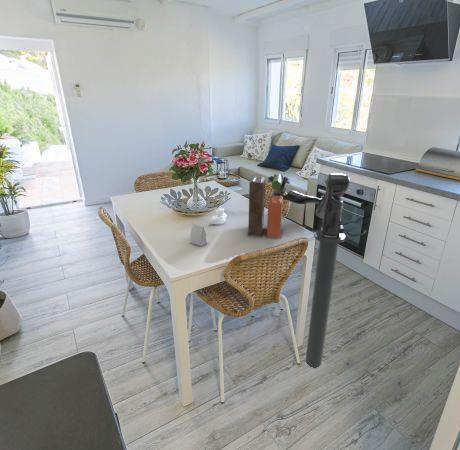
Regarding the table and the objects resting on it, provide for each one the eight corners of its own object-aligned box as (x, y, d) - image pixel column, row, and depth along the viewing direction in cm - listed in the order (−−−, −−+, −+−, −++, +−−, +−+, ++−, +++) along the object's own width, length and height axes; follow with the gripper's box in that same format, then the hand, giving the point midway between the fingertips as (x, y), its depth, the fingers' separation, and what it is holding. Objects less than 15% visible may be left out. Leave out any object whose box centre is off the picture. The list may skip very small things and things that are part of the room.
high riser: (263, 228, 180) (265, 176, 168) (261, 237, 169) (263, 181, 157) (251, 227, 181) (252, 175, 169) (248, 236, 170) (249, 180, 158)
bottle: (282, 180, 181) (283, 172, 179) (280, 190, 161) (281, 180, 160) (274, 180, 181) (274, 172, 180) (271, 189, 162) (271, 180, 160)
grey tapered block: (201, 246, 157) (200, 228, 153) (191, 243, 161) (190, 225, 157) (206, 243, 160) (205, 225, 156) (196, 240, 163) (195, 222, 159)
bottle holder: (280, 230, 179) (283, 195, 171) (279, 238, 168) (282, 201, 160) (268, 229, 180) (270, 194, 172) (266, 237, 169) (268, 200, 161)
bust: (211, 230, 182) (219, 219, 174) (204, 220, 184) (211, 208, 176) (226, 224, 190) (234, 213, 182) (220, 214, 192) (227, 203, 184)
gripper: (267, 178, 192) (266, 169, 175) (290, 179, 190) (291, 170, 173) (266, 189, 191) (265, 182, 174) (289, 191, 189) (290, 183, 172)
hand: (278, 176), depth 174 cm, fingers closed on bottle, 2 cm apart
